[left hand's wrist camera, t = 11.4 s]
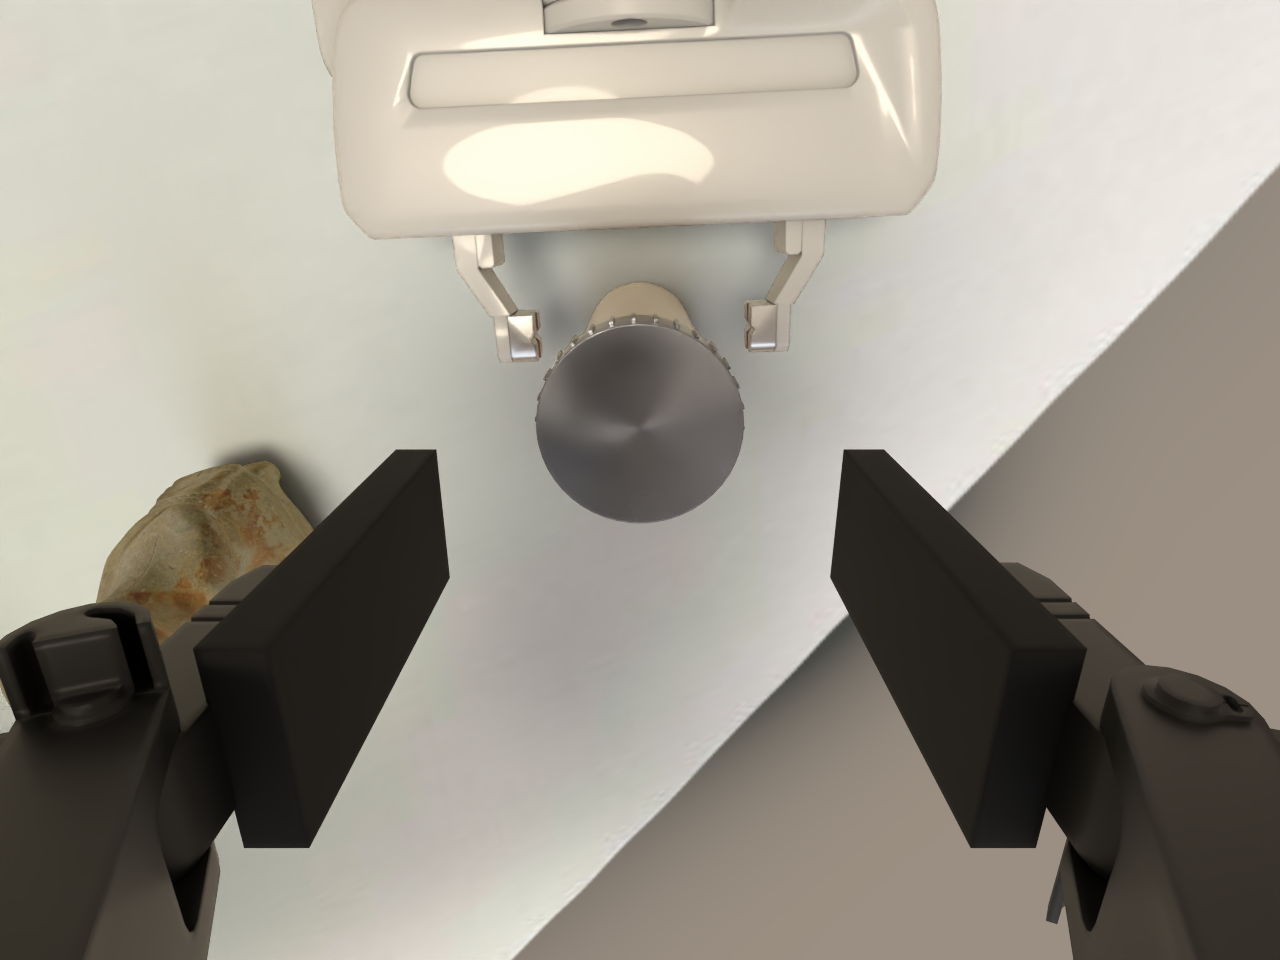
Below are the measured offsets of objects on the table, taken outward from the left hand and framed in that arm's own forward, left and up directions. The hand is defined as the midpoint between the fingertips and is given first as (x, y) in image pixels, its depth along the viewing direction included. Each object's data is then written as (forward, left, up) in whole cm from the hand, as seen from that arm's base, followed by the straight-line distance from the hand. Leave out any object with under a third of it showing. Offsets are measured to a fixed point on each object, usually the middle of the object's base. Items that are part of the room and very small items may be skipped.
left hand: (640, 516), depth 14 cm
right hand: (0, 0, -15) cm, 15 cm away
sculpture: (-19, +10, -22) cm, 30 cm away
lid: (0, 0, -6) cm, 6 cm away
